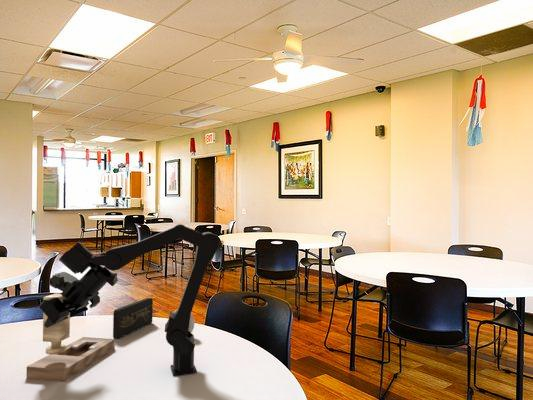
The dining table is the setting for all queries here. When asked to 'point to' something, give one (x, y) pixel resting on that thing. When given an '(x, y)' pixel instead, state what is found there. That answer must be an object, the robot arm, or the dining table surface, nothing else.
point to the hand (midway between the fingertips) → (52, 323)
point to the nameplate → (132, 317)
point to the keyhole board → (70, 359)
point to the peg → (56, 331)
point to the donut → (191, 324)
